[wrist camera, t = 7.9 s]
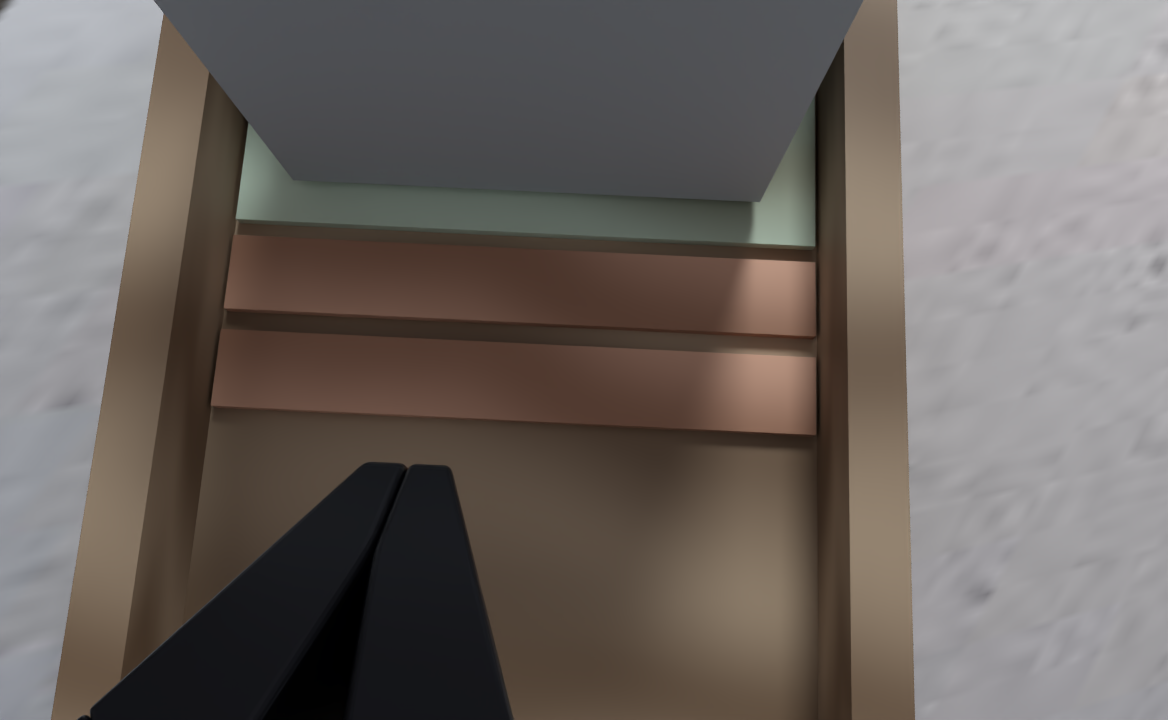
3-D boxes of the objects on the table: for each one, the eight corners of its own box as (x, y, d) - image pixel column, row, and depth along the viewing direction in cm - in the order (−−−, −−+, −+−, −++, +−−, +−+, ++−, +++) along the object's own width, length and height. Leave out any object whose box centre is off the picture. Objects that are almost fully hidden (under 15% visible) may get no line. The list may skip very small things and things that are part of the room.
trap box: (870, 956, 19) (969, 1095, 14) (96, 916, 19) (-69, 1040, 14) (855, -24, 24) (926, -171, 19) (235, -52, 24) (147, -206, 19)
